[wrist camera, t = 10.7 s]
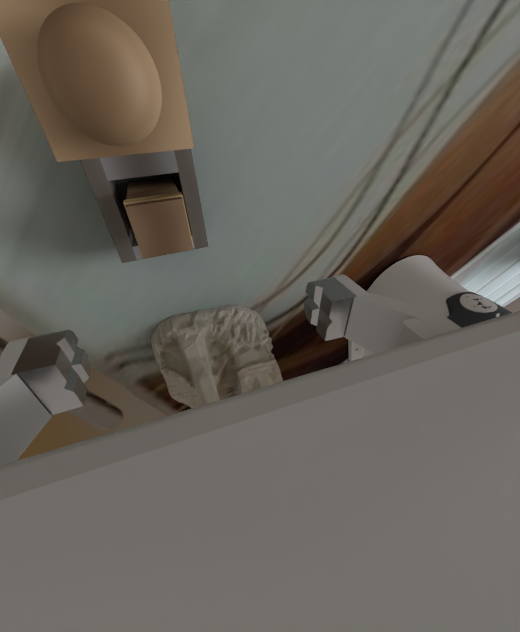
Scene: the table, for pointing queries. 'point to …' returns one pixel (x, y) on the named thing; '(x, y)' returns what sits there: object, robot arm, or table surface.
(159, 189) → the small wooden block
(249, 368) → the ceramic cottage
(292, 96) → the table surface
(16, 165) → the table surface
